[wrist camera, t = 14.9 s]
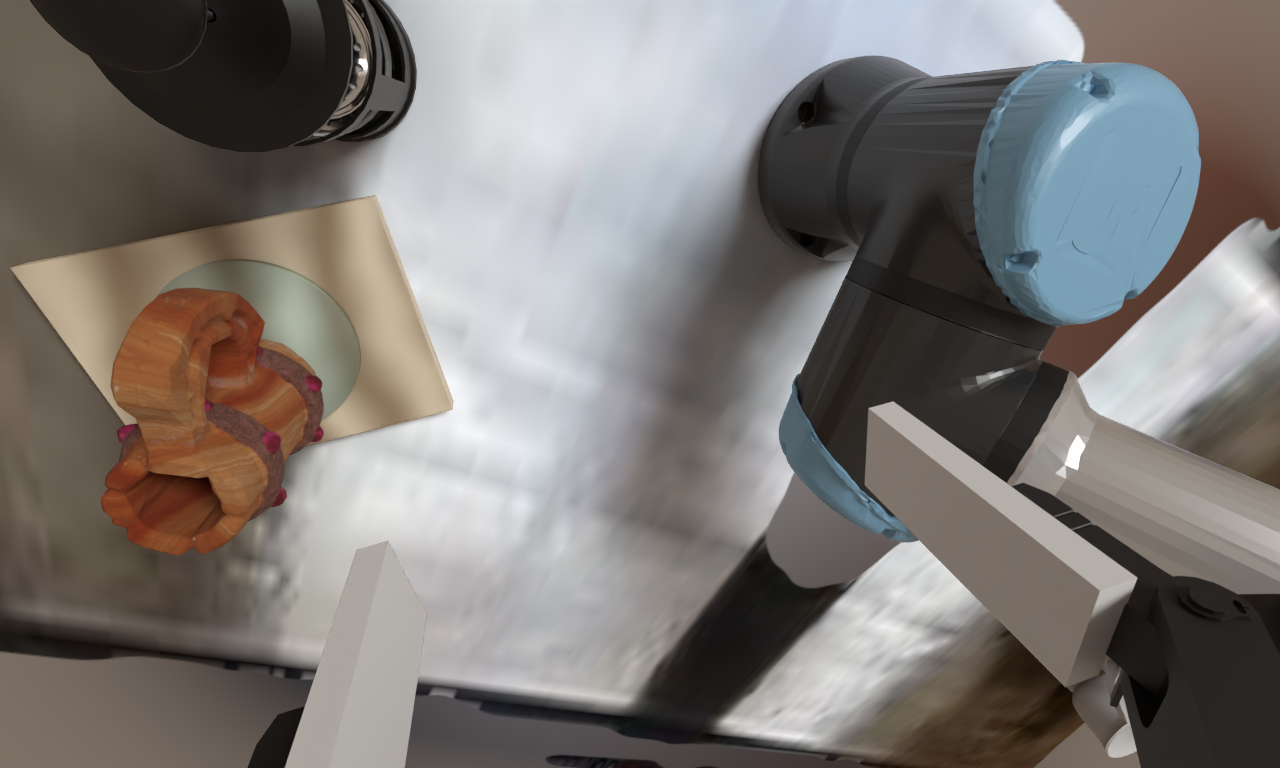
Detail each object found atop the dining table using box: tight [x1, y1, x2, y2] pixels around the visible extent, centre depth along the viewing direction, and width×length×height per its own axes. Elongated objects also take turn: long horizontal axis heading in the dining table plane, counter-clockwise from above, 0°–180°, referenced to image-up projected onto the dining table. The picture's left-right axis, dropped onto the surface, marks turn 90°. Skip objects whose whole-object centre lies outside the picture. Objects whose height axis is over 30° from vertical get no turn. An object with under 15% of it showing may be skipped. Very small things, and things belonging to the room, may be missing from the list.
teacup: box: [1067, 674, 1137, 758], centre depth 92 cm, size 12×15×10 cm
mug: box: [101, 288, 324, 555], centre depth 32 cm, size 15×8×15 cm, turn 168°
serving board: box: [11, 195, 454, 446], centre depth 39 cm, size 22×17×2 cm
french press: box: [30, 0, 417, 152], centre depth 24 cm, size 12×9×23 cm
